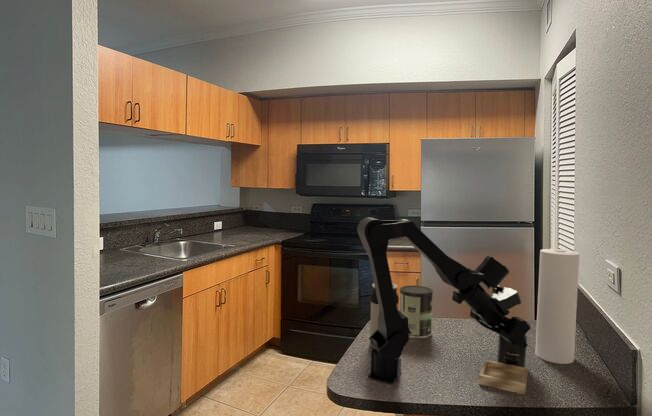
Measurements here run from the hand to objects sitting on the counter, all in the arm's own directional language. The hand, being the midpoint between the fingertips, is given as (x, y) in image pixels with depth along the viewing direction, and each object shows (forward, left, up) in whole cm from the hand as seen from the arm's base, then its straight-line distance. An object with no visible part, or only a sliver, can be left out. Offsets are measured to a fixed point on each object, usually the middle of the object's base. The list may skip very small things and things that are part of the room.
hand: (517, 341), depth 108 cm
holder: (-2, -10, -7) cm, 13 cm away
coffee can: (-30, +10, -7) cm, 33 cm away
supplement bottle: (-1, -1, -7) cm, 7 cm away
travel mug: (-35, -5, -7) cm, 36 cm away
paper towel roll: (+9, +12, -7) cm, 17 cm away
